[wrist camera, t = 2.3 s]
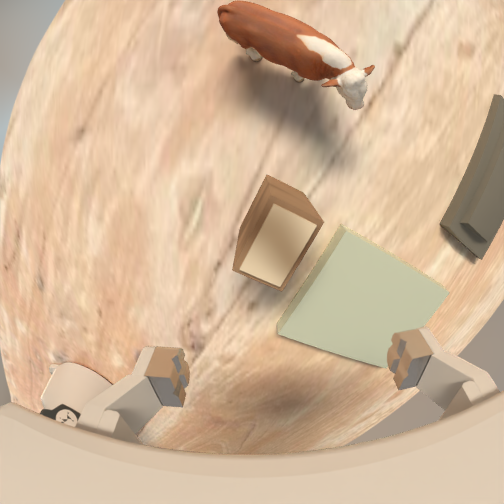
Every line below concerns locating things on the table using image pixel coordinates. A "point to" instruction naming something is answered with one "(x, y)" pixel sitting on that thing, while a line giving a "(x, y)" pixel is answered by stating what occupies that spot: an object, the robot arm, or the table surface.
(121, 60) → the table surface
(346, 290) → the board
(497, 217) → the soap mold
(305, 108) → the table surface
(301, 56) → the bull figurine
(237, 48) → the table surface
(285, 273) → the block
